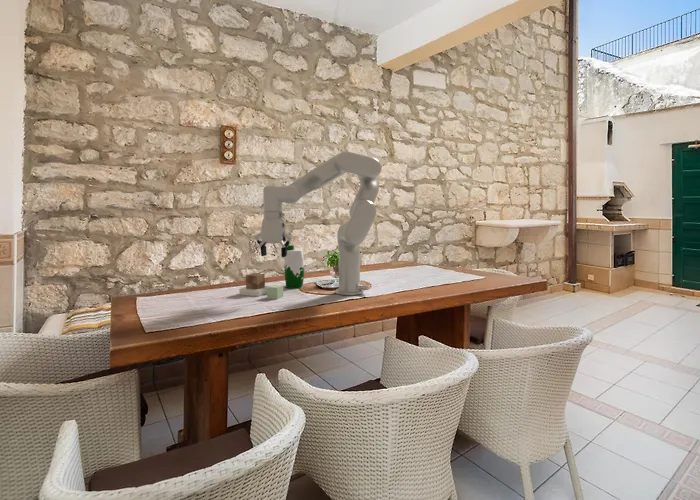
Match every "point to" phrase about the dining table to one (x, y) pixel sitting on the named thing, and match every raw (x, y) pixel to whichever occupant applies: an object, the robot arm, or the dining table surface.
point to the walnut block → (255, 281)
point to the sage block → (274, 291)
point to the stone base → (253, 291)
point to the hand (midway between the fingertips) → (273, 256)
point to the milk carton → (294, 267)
